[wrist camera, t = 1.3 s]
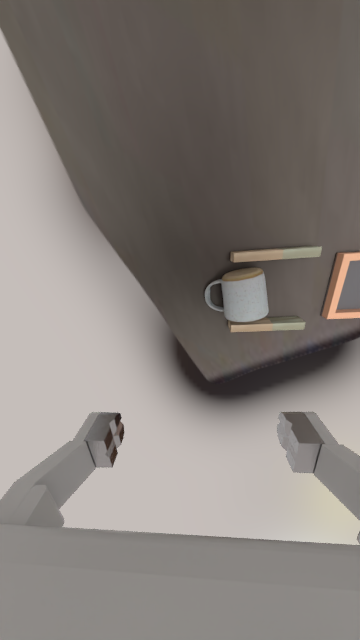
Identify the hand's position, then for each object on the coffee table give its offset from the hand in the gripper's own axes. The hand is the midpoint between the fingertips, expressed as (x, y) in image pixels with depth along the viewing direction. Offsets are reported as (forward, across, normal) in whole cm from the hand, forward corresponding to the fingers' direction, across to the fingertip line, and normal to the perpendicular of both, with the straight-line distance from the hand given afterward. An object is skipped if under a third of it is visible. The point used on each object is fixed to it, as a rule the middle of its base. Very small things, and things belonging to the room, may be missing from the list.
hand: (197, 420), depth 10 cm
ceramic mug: (+30, -7, 0) cm, 31 cm away
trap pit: (+30, -30, 0) cm, 43 cm away
